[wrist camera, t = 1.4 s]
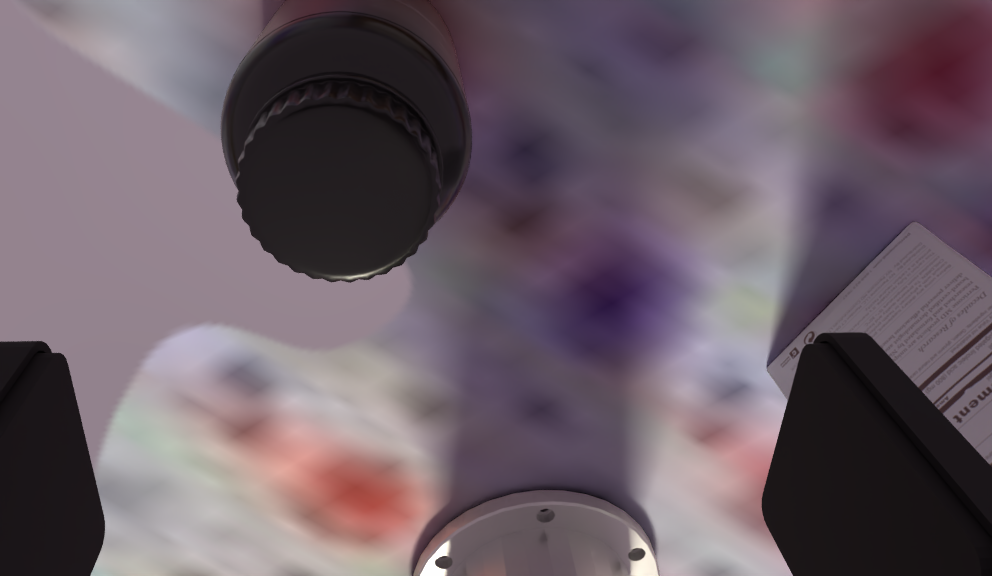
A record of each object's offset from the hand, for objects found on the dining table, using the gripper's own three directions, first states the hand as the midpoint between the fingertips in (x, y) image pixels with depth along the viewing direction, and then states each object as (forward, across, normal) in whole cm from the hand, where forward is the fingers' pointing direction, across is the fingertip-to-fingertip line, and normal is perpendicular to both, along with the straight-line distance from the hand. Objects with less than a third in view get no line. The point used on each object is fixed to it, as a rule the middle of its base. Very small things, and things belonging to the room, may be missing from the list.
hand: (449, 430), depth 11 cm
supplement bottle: (+22, +2, +1) cm, 22 cm away
